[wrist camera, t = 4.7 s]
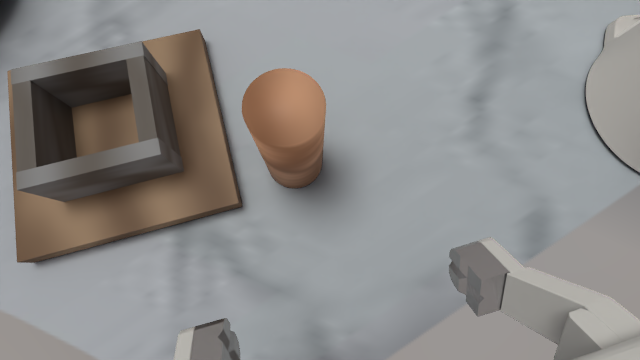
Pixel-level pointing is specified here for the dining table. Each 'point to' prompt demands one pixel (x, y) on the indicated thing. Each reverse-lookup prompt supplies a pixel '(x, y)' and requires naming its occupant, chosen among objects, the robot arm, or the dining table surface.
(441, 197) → the dining table surface
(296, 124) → the post
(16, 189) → the stand
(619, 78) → the robot arm
